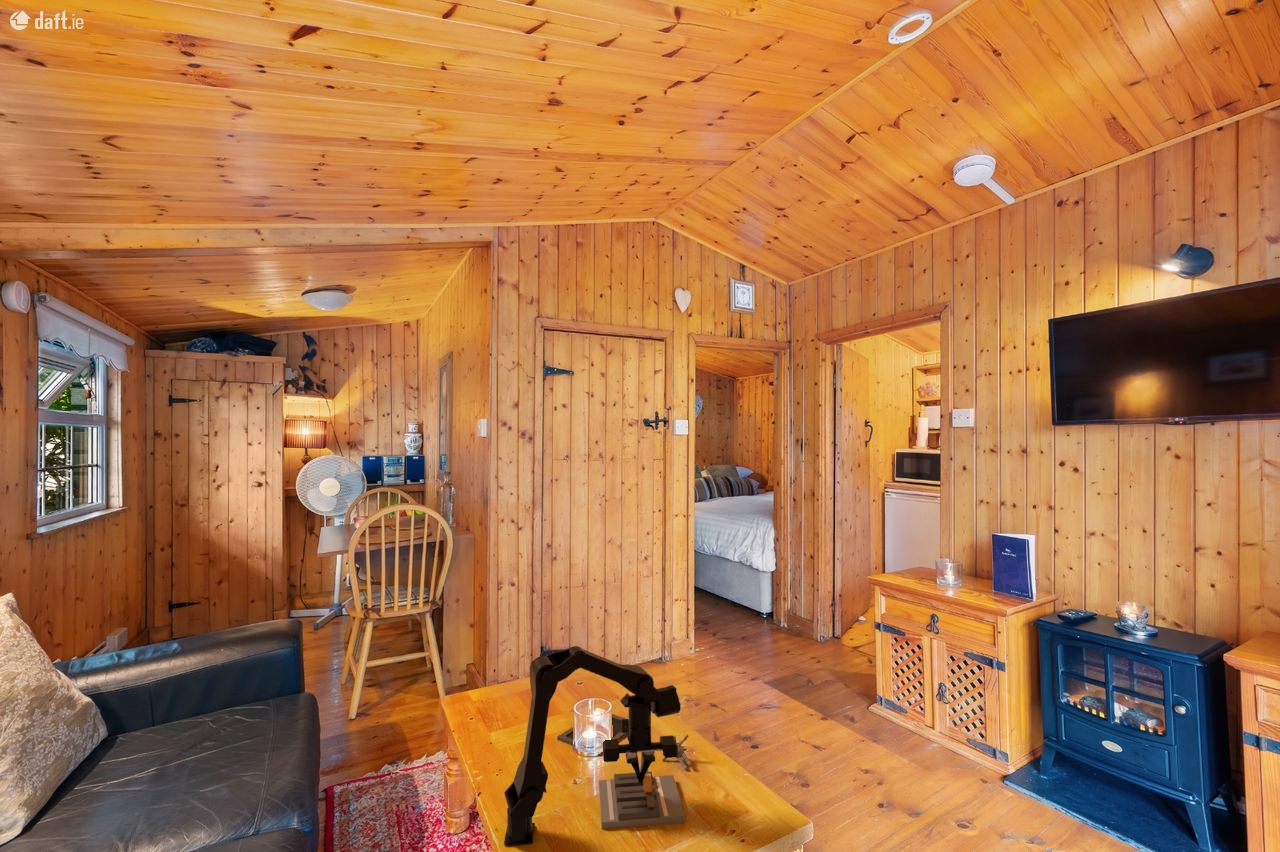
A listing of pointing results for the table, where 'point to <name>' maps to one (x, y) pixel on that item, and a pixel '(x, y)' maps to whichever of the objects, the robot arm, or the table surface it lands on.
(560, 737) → the picture frame
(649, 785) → the handle
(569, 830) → the table surface
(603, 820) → the panel
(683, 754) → the grey toy figurine
